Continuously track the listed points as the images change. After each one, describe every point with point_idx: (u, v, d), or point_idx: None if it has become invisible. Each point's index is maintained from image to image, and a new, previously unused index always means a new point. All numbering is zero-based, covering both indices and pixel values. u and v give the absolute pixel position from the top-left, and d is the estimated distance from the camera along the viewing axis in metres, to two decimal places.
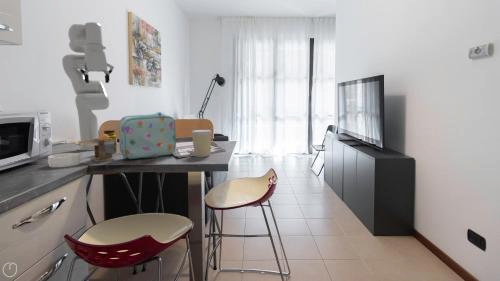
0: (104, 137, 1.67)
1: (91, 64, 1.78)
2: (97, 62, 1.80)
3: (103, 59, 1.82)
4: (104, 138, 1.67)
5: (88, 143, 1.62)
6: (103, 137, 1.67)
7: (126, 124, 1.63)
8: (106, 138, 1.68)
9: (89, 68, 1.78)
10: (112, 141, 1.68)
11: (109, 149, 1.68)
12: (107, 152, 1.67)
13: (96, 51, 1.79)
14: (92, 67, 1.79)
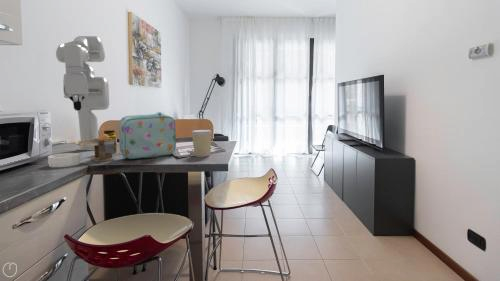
0: (104, 137, 1.67)
1: (70, 88, 1.67)
2: (78, 86, 1.69)
3: (84, 82, 1.71)
4: (104, 138, 1.67)
5: (88, 143, 1.62)
6: (103, 137, 1.67)
7: (126, 124, 1.63)
8: (106, 138, 1.68)
9: (68, 92, 1.67)
10: (112, 141, 1.68)
11: (109, 149, 1.68)
12: (107, 152, 1.67)
13: (76, 74, 1.68)
14: (72, 91, 1.67)
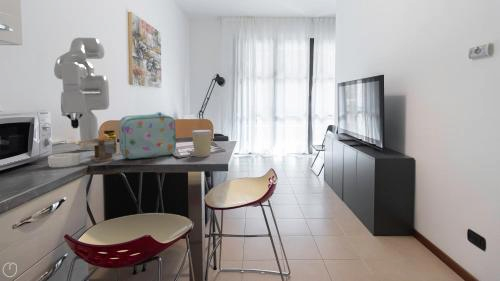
0: (104, 137, 1.67)
1: (68, 106, 1.66)
2: (75, 104, 1.68)
3: (81, 100, 1.69)
4: (104, 138, 1.67)
5: (88, 143, 1.62)
6: (103, 137, 1.67)
7: (126, 124, 1.63)
8: (106, 138, 1.68)
9: (66, 111, 1.65)
10: (112, 141, 1.68)
11: (109, 149, 1.68)
12: (107, 152, 1.67)
13: (73, 92, 1.67)
14: (69, 109, 1.66)
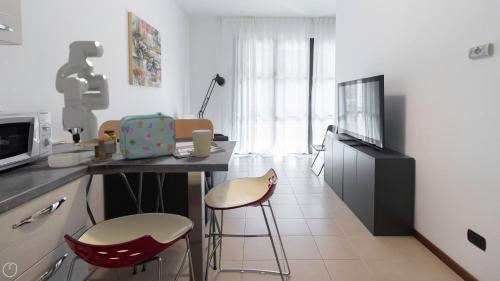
0: (104, 137, 1.67)
1: (69, 121, 1.67)
2: (76, 119, 1.69)
3: (83, 115, 1.70)
4: (104, 138, 1.67)
5: (88, 144, 1.62)
6: (103, 137, 1.67)
7: (126, 124, 1.63)
8: (106, 138, 1.68)
9: (67, 126, 1.67)
10: (112, 140, 1.68)
11: (109, 148, 1.68)
12: (108, 152, 1.68)
13: (75, 107, 1.67)
14: (71, 124, 1.67)
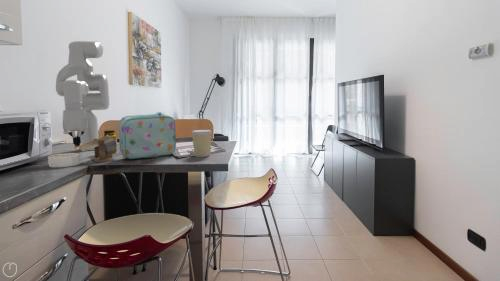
0: None
1: (70, 124, 1.67)
2: (77, 122, 1.69)
3: (83, 118, 1.70)
4: None
5: (88, 146, 1.62)
6: None
7: (126, 124, 1.63)
8: None
9: (67, 129, 1.67)
10: (111, 138, 1.68)
11: (110, 146, 1.68)
12: (109, 150, 1.68)
13: (75, 110, 1.68)
14: (71, 127, 1.68)
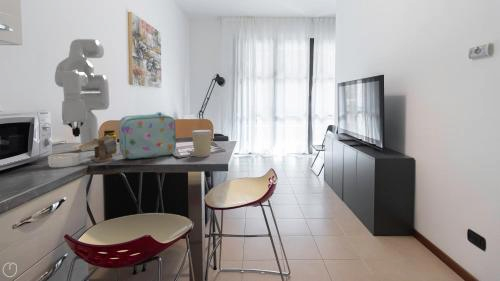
0: None
1: (69, 115, 1.67)
2: (76, 113, 1.69)
3: (82, 109, 1.70)
4: None
5: (88, 146, 1.62)
6: None
7: (126, 124, 1.63)
8: None
9: (67, 120, 1.67)
10: (111, 138, 1.68)
11: (110, 146, 1.68)
12: (109, 150, 1.68)
13: (74, 101, 1.67)
14: (70, 118, 1.68)
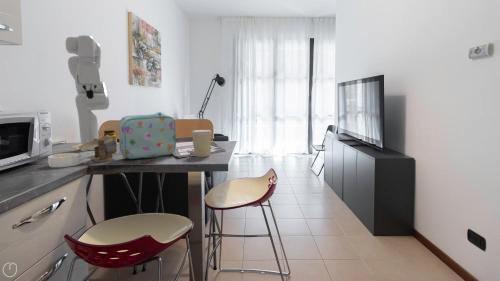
0: None
1: (83, 78, 1.77)
2: (90, 76, 1.78)
3: (96, 72, 1.80)
4: None
5: (88, 146, 1.62)
6: None
7: (126, 124, 1.63)
8: None
9: (81, 82, 1.76)
10: (111, 138, 1.68)
11: (110, 146, 1.68)
12: (109, 150, 1.68)
13: (88, 64, 1.77)
14: (85, 80, 1.77)
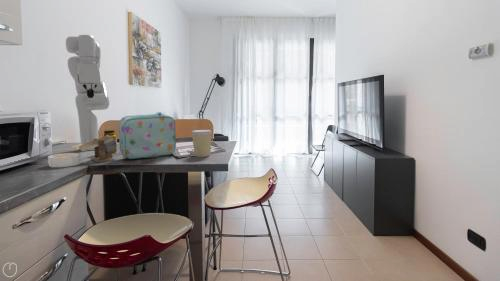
0: None
1: (84, 77, 1.77)
2: (90, 75, 1.79)
3: (96, 71, 1.80)
4: None
5: (88, 146, 1.62)
6: None
7: (126, 124, 1.63)
8: None
9: (82, 81, 1.76)
10: (111, 138, 1.68)
11: (110, 146, 1.68)
12: (109, 150, 1.68)
13: (89, 64, 1.77)
14: (85, 80, 1.77)
